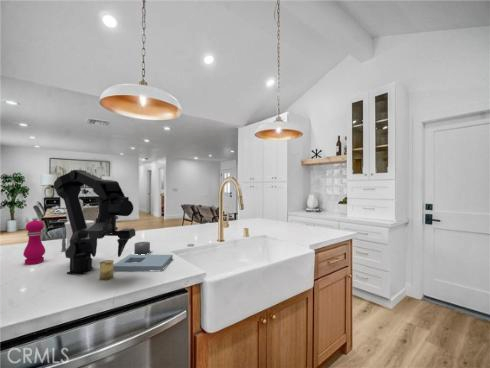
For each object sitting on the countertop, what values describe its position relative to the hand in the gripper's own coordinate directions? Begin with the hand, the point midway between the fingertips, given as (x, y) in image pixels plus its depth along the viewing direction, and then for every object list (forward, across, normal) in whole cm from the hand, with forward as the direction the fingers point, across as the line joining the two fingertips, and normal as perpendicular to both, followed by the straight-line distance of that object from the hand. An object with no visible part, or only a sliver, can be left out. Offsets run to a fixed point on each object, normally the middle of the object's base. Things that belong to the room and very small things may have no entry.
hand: (106, 256), depth 89 cm
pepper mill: (+8, -41, +18) cm, 45 cm away
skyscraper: (+9, -39, +40) cm, 56 cm away
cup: (+8, -21, +17) cm, 28 cm away
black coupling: (+8, 0, +33) cm, 34 cm away
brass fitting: (+8, 0, 0) cm, 8 cm away
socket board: (+8, +8, +15) cm, 19 cm away
